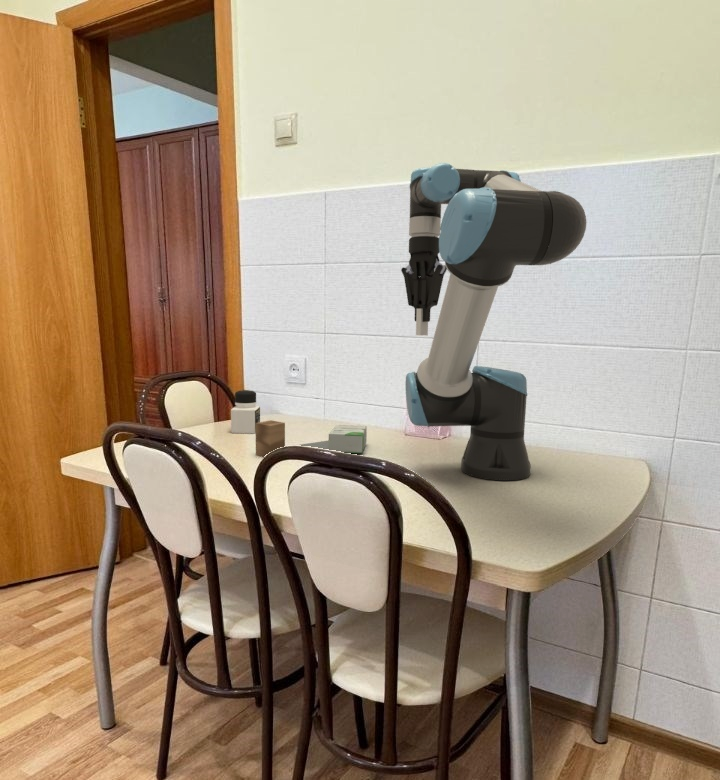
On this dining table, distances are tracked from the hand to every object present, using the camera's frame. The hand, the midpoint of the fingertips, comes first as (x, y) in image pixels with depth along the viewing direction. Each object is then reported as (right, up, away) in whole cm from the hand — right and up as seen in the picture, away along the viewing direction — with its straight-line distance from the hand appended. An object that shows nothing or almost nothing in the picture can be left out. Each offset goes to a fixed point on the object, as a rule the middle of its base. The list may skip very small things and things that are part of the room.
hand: (421, 335), depth 138 cm
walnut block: (-37, -29, -1) cm, 47 cm away
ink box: (-19, -27, 0) cm, 33 cm away
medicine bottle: (-49, -26, +27) cm, 61 cm away
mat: (-26, -29, +5) cm, 39 cm away
